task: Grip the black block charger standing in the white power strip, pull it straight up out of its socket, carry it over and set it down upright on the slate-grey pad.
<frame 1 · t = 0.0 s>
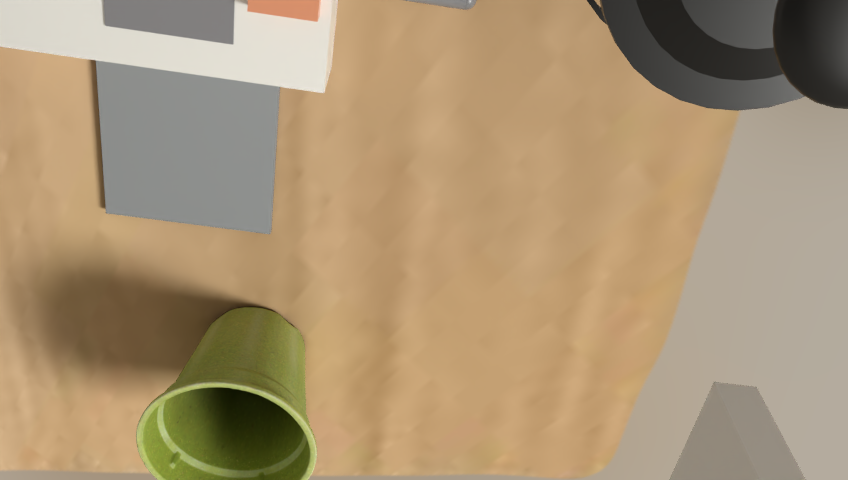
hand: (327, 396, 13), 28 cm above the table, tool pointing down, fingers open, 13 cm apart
pad: (190, 147, 42), on the table
plant pot: (256, 343, 49), on the table
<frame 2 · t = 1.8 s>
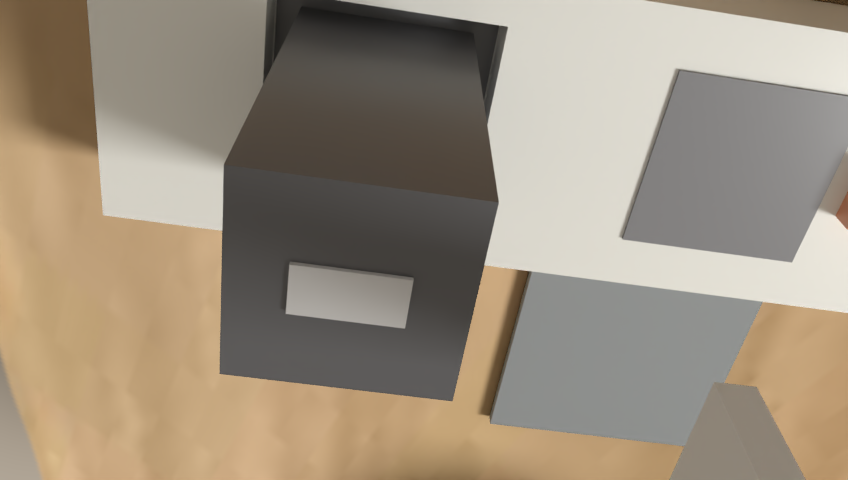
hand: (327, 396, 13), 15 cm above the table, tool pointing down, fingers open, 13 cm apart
charger: (377, 100, 24), point 2 cm above the table, touching power strip
pad: (620, 349, 32), on the table
power strip: (530, 98, 26), on the table
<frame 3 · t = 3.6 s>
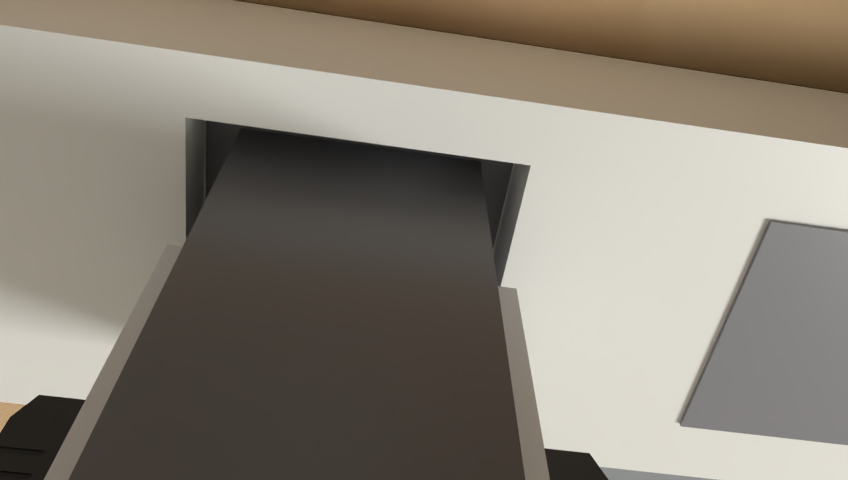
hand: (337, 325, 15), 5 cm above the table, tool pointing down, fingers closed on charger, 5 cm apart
charger: (349, 246, 18), point 2 cm above the table, touching gripper, power strip
power strip: (553, 228, 20), on the table
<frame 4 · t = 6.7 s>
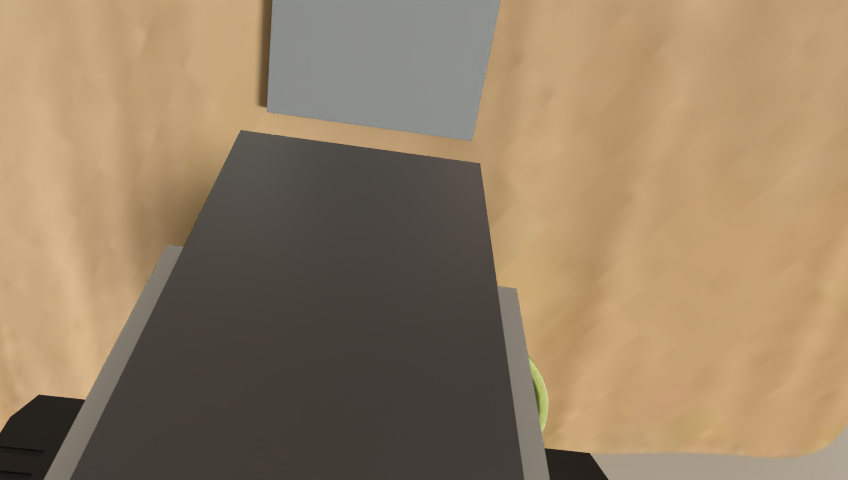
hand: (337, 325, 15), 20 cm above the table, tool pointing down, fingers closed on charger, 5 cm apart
charger: (349, 247, 18), point 17 cm above the table, touching gripper
pad: (383, 22, 32), on the table
plant pot: (430, 287, 40), on the table
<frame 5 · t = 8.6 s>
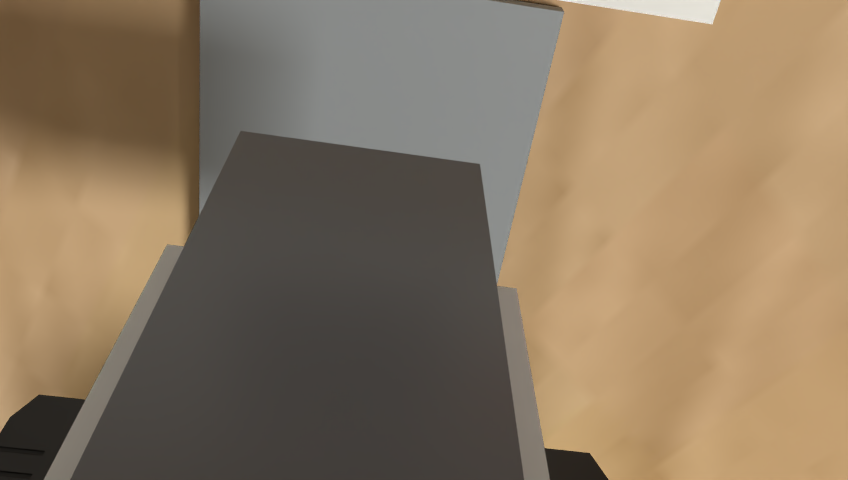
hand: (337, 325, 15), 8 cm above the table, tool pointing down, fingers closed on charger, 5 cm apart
charger: (349, 248, 18), point 5 cm above the table, touching gripper
pad: (365, 143, 22), on the table
when the fingers open (5 cm above the table, at t = 10.0 s): charger drops 2 cm, resting on pad.
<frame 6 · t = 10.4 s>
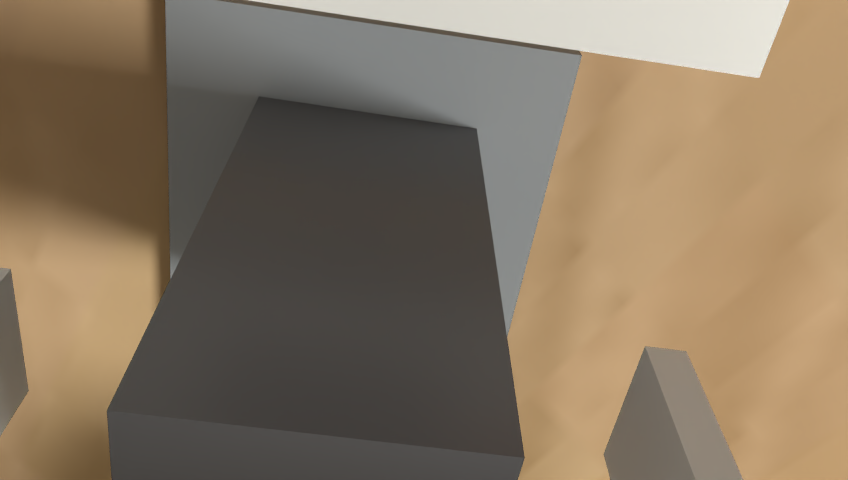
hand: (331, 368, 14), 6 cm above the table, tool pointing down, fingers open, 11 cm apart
charger: (356, 207, 19), resting on pad
pad: (356, 198, 20), on the table
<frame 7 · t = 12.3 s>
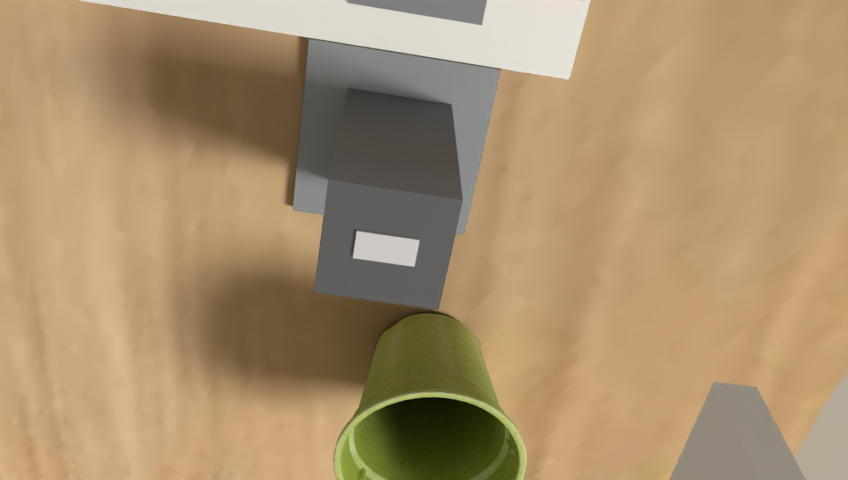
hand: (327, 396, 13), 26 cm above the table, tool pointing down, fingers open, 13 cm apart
charger: (392, 144, 39), resting on pad
pad: (391, 140, 39), on the table
plant pot: (427, 352, 46), on the table
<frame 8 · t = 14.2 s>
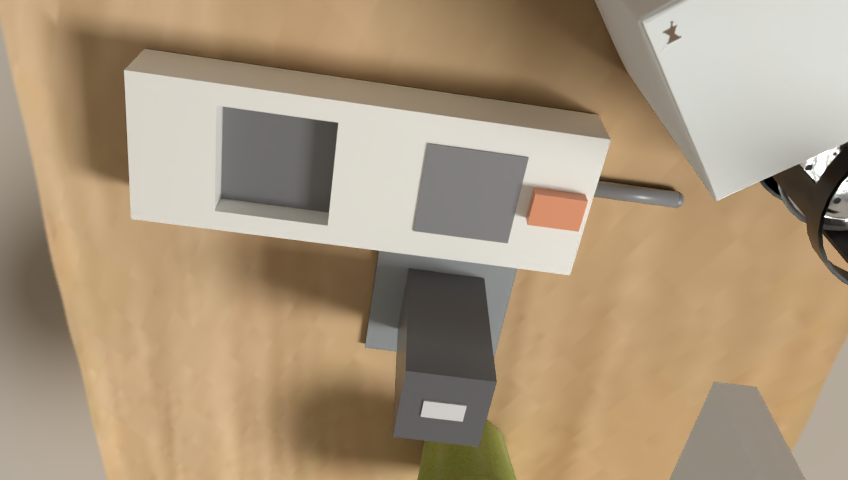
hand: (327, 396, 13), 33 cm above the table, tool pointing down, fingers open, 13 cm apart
charger: (440, 303, 52), resting on pad
pad: (439, 300, 53), on the table
power strip: (367, 153, 47), on the table
plant pot: (463, 441, 60), on the table
french press: (810, 102, 46), on the table
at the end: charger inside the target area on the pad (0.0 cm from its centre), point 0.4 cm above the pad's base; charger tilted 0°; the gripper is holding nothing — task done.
